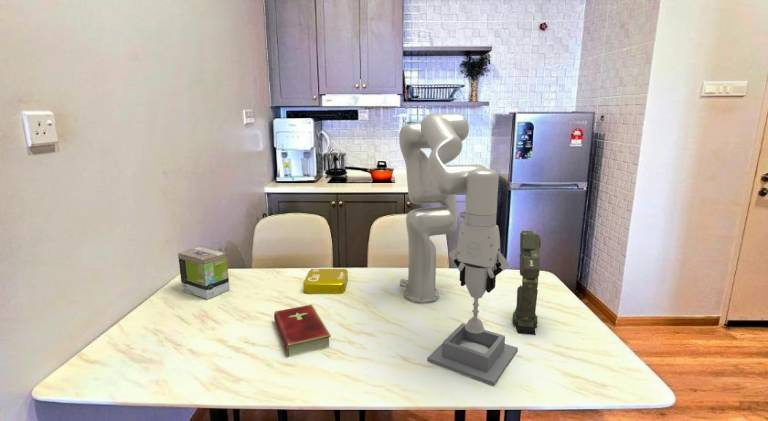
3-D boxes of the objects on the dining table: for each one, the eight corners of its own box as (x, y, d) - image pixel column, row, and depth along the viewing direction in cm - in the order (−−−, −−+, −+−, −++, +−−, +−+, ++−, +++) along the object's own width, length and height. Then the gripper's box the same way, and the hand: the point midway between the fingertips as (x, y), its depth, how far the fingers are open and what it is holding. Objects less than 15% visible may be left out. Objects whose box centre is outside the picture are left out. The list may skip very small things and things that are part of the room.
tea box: (231, 290, 153) (227, 252, 149) (206, 300, 144) (202, 260, 141) (205, 281, 160) (201, 245, 157) (181, 290, 152) (176, 252, 149)
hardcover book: (287, 358, 111) (286, 344, 110) (274, 323, 130) (273, 310, 129) (331, 348, 116) (330, 334, 115) (312, 315, 134) (311, 303, 133)
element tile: (344, 295, 149) (344, 282, 148) (302, 295, 149) (302, 282, 148) (348, 278, 164) (348, 267, 163) (310, 278, 164) (309, 267, 163)
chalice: (490, 324, 111) (494, 260, 107) (487, 337, 105) (491, 269, 100) (462, 320, 113) (465, 257, 109) (458, 332, 107) (461, 266, 103)
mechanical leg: (541, 339, 117) (546, 232, 117) (515, 336, 119) (519, 231, 119) (534, 326, 131) (538, 231, 131) (510, 324, 132) (514, 229, 132)
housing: (427, 361, 109) (427, 344, 107) (456, 331, 123) (457, 316, 122) (494, 386, 99) (495, 367, 97) (517, 351, 113) (518, 334, 112)
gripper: (441, 217, 104) (439, 284, 108) (510, 228, 94) (505, 301, 98) (454, 211, 110) (452, 275, 114) (520, 221, 100) (515, 290, 104)
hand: (476, 286), depth 106 cm, fingers closed on chalice, 6 cm apart
